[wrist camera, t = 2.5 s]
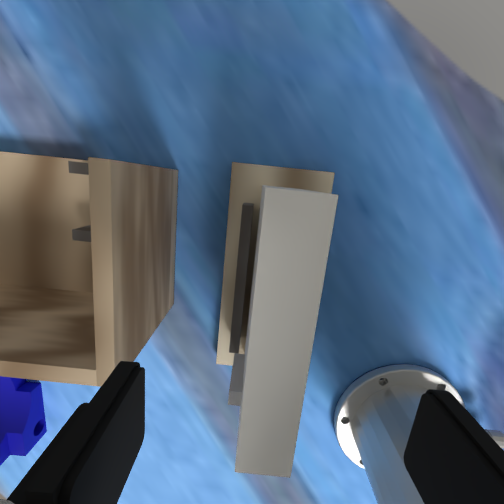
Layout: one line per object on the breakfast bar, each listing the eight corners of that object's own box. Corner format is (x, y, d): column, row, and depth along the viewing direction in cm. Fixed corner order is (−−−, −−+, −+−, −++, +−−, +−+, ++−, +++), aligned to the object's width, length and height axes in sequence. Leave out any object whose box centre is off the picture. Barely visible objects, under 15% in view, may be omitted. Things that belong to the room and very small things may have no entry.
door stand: (330, 173, 23) (344, 171, 19) (299, 364, 27) (306, 391, 24) (233, 163, 23) (228, 159, 19) (218, 356, 27) (211, 382, 24)
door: (252, 184, 22) (246, 185, 12) (300, 188, 22) (338, 194, 12) (235, 351, 26) (220, 470, 15) (276, 355, 26) (290, 477, 15)
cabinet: (178, 169, 23) (110, 159, 13) (173, 303, 26) (114, 387, 15) (-76, 143, 23) (-361, 110, 13) (-53, 280, 26) (-268, 349, 15)
